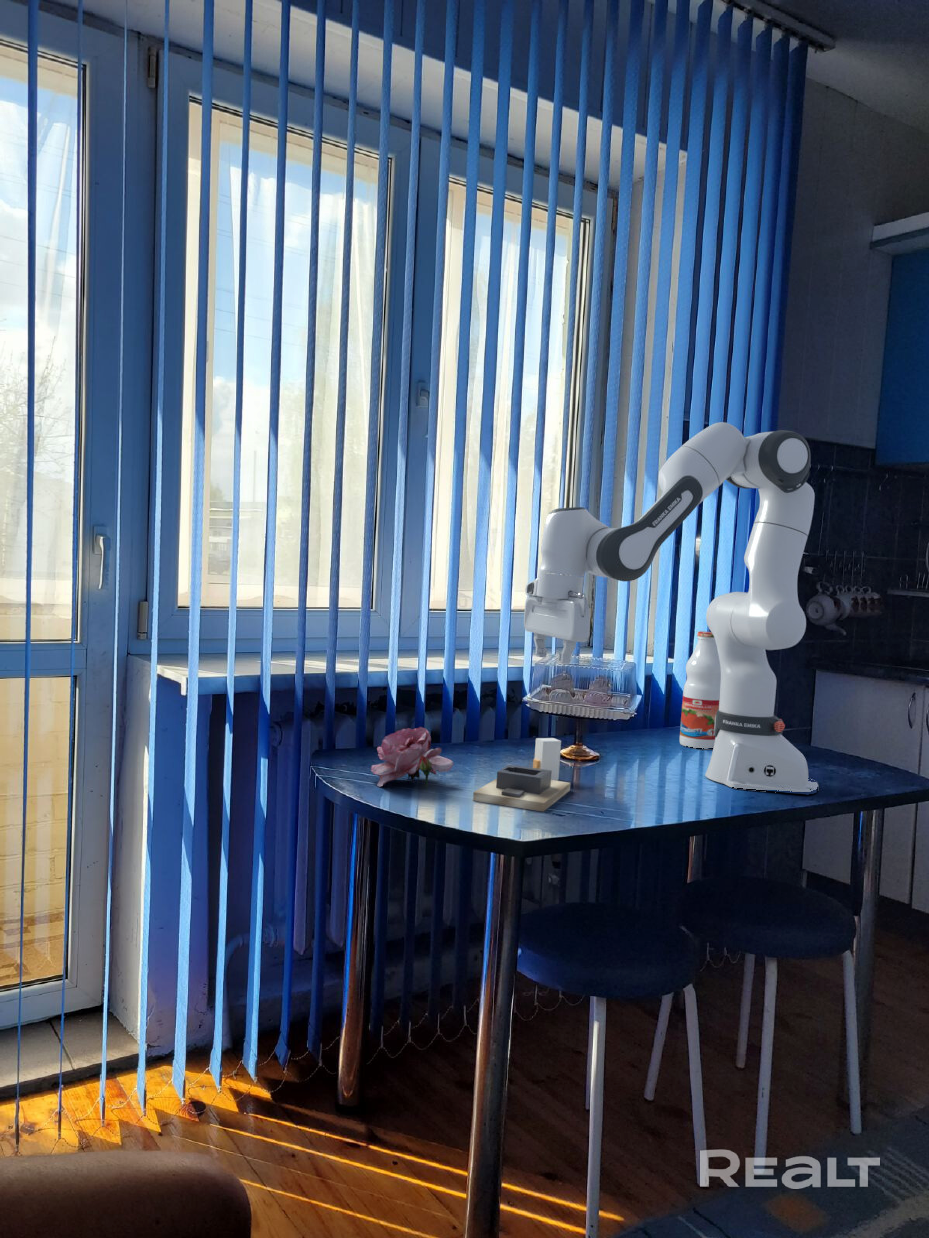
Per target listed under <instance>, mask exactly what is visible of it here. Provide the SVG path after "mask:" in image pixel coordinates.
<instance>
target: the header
mask: <svg viewBox="0 0 929 1238" xmlns="http://www.w3.org/2000/svg"><path fill="white" fill-rule="evenodd" d="M496 773H497V774H496V779H497V783H496V788H499V789H507V788H510V789H517V790H523V791H524V792H526V793H532V794H539V795H540V794H541V793H542V792H544V791H545V790H547V789H548V788H549V787H551V773H552V771H551V770H544V769H537V768H533V767H528V766H521V765H515V764H508V765H506V766H505V767H503V768H501V769H499V770H498V771H497V772H496Z"/></svg>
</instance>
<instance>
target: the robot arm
mask: <svg viewBox="0 0 929 1238" xmlns="http://www.w3.org/2000/svg"><path fill="white" fill-rule="evenodd" d="M811 455H812V454H811V449H810V446H809V443H808V441H807V440H806V439H805V437H804V436H803V435H802V434H800V433H797V432H795V431H790V430H786V429H785V430H783V429H779V430H775V431H764V432H758V433H756V434H753V435H749V436H746V437H745V436H744V435H743V433H742V432H741V431H740V430H739V429H738V428H737V427H735V426H734V425H733V424H731V423H728V422H725V421H724V422H723V421H721V422H720V421H719V422H715V423H713V424H711V425H709V426H707V427H706V428H704V429H702V430H701V431H699V432H698V433H696V434H695V435H694V436H692V437H691V438H689V439H688V440H687V441H685V443H683V444H682V445H681V446H680V447H679V448H678V449H677V450H675V451H674V452H673V453H672V455H671V456H669V458H668V459H667V460H666V461H665V462H664V464H663V465H662V467H661V468H660V469H659V470H658V484H659V485H658V486H659V488H660V490H661V492H662V493H661V495H660V497H658V499H657V500H656V501H655V502H654V503H653V504H652V505H651V506H650V507H649V508H648V509H647V510H646V511H645V512H644V513H643V514H642V515H641V516H640V518H639V517H638V518H639V519H637V520H636V521H635V522H633V523H631V524H628V525H625V526H622V527H615V528H614V527H610V526H608V525H606V524H605V523H604V522H601V521H600V520H598V519H597V518H596V517H594V516H593V515H592V514H591V513H590V512H589V511H588V509H587V508H585V507H582V506H574V507H572V506H571V507H561V508H560V507H559V508H555V509H553V510H551V511H549V513H548V515H547V516H546V520H545V523H544V526H543V528H544V529H543V534H542V539H541V546H540V553H541V564H540V567H539V569H538V575H537V578H535V579H533V580H532V581H530V582H529V583H527V584H525V590H524V591H525V592H524V594H525V595H526V596H527V597H526V599H525V602H524V613H523V626H524V629H525V631H526V632H529V633H533V641H534V645H535V654H534V655H535V657H537V658H546V657H547V653H548V648H546V642H545V641H546V640H547V637H551V638H555V639H560V640H562V646H563V648H562V651H561V653H559V654H558V662H559V663H560V664H564V665H566V664H567V665H569V664H570V663H571V660H572V655H573V652H574V651H575V649H576V647H577V643H587V641H588V639H589V638H590V628H591V610H590V605H589V604H588V603H589V602H588V599H587V597H586V594H585V593H583V589H584V580H585V573H586V572H587V573H589V574H591V575H593V576H596V577H600V578H601V577H602V578H609V579H613V580H616V581H618V582H619V581H620V582H632V581H635V580H637V579H639V578H641V577H643V575H644V574H646V572H647V571H648V569H649V568H650V566H651V565H652V564H653V563H652V562H653V561H654V558H655V556H656V553H658V550H659V549H660V547H661V546H662V545H663V543H664V542H665V541H666V540H667V539H668V538H669V537H670V536H671V535H672V534H673V533H674V532H675V530H676V529H678V527H679V526H681V524H682V523H683V522H684V521H685V520H686V519H687V518H688V517H689V515H690V516H691V514H692V512H693V511H694V510H695V509H696V508H697V507H698V506H699V505H700V504H701V503H702V502H704V501H705V499H706V498H708V497H709V496H710V495H711V494H713V492H715V491H716V490H717V489H718V488H719V487H720V486H722V484H723V483H724V482H725V481H726V482H727V483H729V485H732V486H734V487H736V488H740V489H748V490H749V489H757V490H758V493H759V494H758V495H759V507H758V511H757V513H756V516H755V519H754V521H753V524H752V525H753V526H752V529H751V532H750V535H749V538H748V539H749V540H748V542H747V545H746V549H745V552H744V556H743V560H744V561H743V562H744V564H745V566H746V568H747V569H748V573H749V584H748V585H749V586H748V587H749V588H748V591H747V592H745V591H733V592H728V593H724V594H720V595H718V596H716V597H715V598H714V599H712V601H711V602H710V603H709V605H708V606H707V609H706V613H705V618H706V619H705V620H706V625H707V627H708V629H709V632H712V634H713V636H714V638H715V641H716V645H717V650H718V655H719V660H720V668H721V685H720V700H719V709H718V710H717V712H716V716H715V727H714V732H715V743H714V748H713V749H712V753H711V757H710V760H709V764H708V765H707V769H706V772H705V774H704V775H705V777H706V778H707V779H709V780H711V781H714V782H717V783H719V784H724V785H725V786H727V787H729V788H732V787H734V788H733V789H737V788H743V789H742V790H746V789H756V790H777V791H778V790H779V791H790V792H791V791H792V792H811V791H813V790H816V789H817V787H818V788H819V783H818V782H817V781H816V782H811V781H808V780H809V779H808V778H809V768H808V766H809V765H808V762H807V760H806V757H805V756H804V754H803V753H802V752H801V751H800V750H799V749H798V748H797V747H795V746H794V744H792V743H791V742H790V741H789V740H788V739H786V737H784V736H783V731H784V730H785V727H786V725H785V723H784V721H783V719H782V718H779V717H778V716H776V715H775V705H776V692H777V691H776V690H777V677H776V674H775V672H774V671H773V669H772V668H771V666H770V663H769V660H768V657H767V652H766V650H767V651H774V650H782V649H783V650H784V649H790V648H792V647H794V646H796V645H797V644H798V643H799V642H800V641H801V640H802V638H803V636H804V635H805V632H806V628H807V618H806V614H805V611H803V608H802V607H801V605H800V602H799V597H798V579H799V578H798V575H799V571H800V567H801V563H802V559H803V554H804V552H805V547H806V543H807V541H808V536H809V534H810V530H811V526H812V522H813V521H812V520H813V516H814V507H815V506H814V505H815V496H816V495H815V492H814V489H813V486H811V485H810V483H808V482H807V481H808V479H809V477H810V466H811V458H812V457H811ZM810 779H811V778H810ZM811 780H813V779H811ZM810 789H811V790H810ZM756 790H755V791H756Z"/></svg>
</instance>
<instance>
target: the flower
mask: <svg viewBox="0 0 929 1238" xmlns="http://www.w3.org/2000/svg"><path fill="white" fill-rule="evenodd" d="M430 734H431V733H430V732H429V731H428V729H427V728H425V727H422V726H419V727H417V728H413V729H412V728H409V727H408V728H402V729H400V730H397V731H395V732H394V733H390V734H388V735H386V736H384V738H383V739H382V741H381V746H377V748H376V750H377V753H378V754H377V756H378V759H380V760H382V761H384V762H382V763H378V764H373V765H371V768H370V770H371V771H370V772H371V773H372V774H374V775H377V776H378V777H379V778H378V779H379V780H378V782H377V784H376V785H377V787H380V788H381V787H383V786H384V785H386V784H387V783H388V782H389V783H390V782H391V781H395V780H397V779H400V778H403V777H404V776H406V775H407V776H408V778H407V781H409V779H411V781H410V784H413V781H414V779H415V778H417V779H418V780H420V777H421V776H420V774H421V773H420V771H422V772H423V775H424V776H425V788H427V786H428V778H429V776H430V773H431V774H433V775H435V776H436V775H437V772H439V773H443V772H444V773H445V772H449V771H451V769H452V768H453V766H454V761H453V760H452V759H450V758H447V757H444V756H441V755H440V754H441V753H442V748H441V747H436V748H431V745H432V738H431V735H430Z"/></svg>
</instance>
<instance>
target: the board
mask: <svg viewBox="0 0 929 1238" xmlns="http://www.w3.org/2000/svg"><path fill="white" fill-rule="evenodd" d="M496 783H497V778H495V779H493V780H492V781H490V782H488V783H486V784H485V785H483V786H482V787H480V788H478V789H477V790H475V791H473V795H472V801H475V802H480V803H487V804H492V805H493V804H494V805H499V806H507V807H512V808H519V809H525V810H531V811H537V812H545V811H546V810H547V809H549V808H550V807H551V806H552V805H554V804H555V803H557V802H558V801H559V800H560V799H561V798H562V797H564V796H565V795H566V794H567V793H569V792H570V791H571V782H566V781H561V780H558V781H555V780H551V787H549V788H548V789H547V790H545V791H544V792H542V793H541V794H540V795H539V794H532V793H526V792H524V791H523V790H517V789H510V788H507V789H499V788H496Z"/></svg>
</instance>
